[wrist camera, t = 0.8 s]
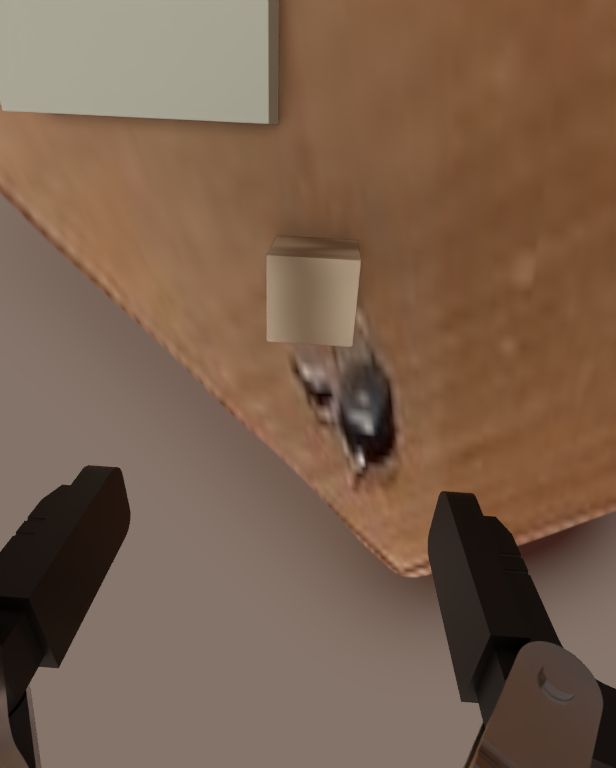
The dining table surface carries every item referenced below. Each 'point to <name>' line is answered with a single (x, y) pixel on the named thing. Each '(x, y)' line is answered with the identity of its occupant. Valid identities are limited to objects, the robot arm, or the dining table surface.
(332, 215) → the dining table surface
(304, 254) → the maple cube
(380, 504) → the dining table surface
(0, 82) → the plate
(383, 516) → the dining table surface
